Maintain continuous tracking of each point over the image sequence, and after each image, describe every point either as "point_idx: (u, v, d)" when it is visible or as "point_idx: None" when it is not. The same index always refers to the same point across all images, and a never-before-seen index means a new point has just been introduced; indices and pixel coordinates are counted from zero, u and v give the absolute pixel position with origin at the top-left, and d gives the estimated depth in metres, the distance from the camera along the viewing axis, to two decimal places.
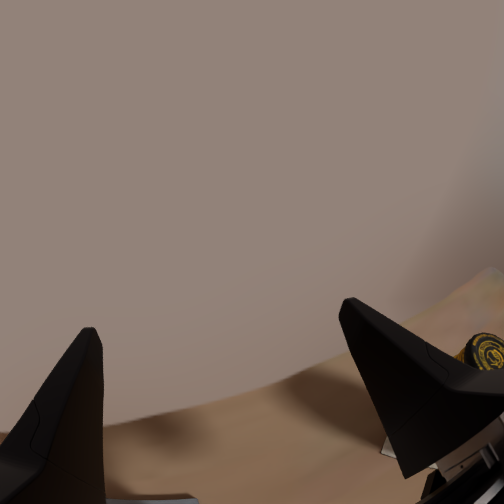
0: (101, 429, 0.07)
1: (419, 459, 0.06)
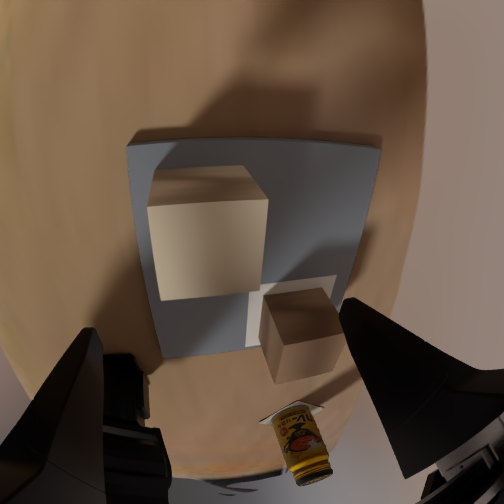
0: (101, 429, 0.07)
1: (419, 459, 0.06)
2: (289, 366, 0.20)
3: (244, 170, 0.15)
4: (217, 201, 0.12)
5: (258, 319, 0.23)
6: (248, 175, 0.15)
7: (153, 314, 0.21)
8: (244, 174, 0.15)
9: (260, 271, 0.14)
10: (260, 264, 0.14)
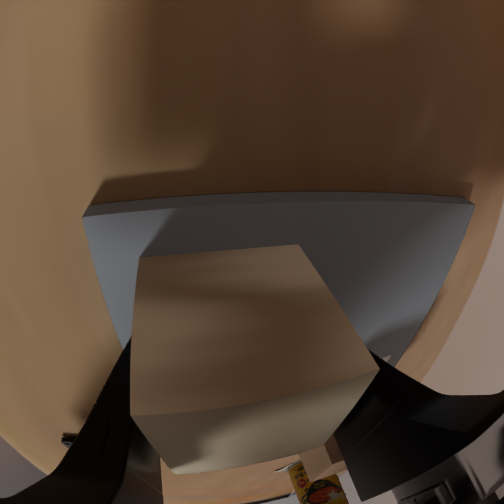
0: None
1: (372, 484, 0.06)
2: (331, 470, 0.13)
3: (306, 263, 0.09)
4: (285, 394, 0.05)
5: None
6: (317, 280, 0.08)
7: None
8: (310, 276, 0.08)
9: (330, 434, 0.07)
10: (333, 430, 0.07)
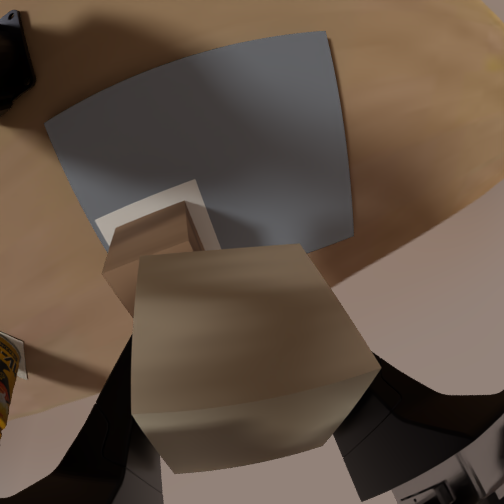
0: None
1: (373, 484, 0.06)
2: None
3: (307, 262, 0.09)
4: (286, 393, 0.05)
5: (145, 212, 0.18)
6: (319, 279, 0.08)
7: (125, 82, 0.13)
8: (311, 275, 0.08)
9: (331, 434, 0.07)
10: (334, 429, 0.07)
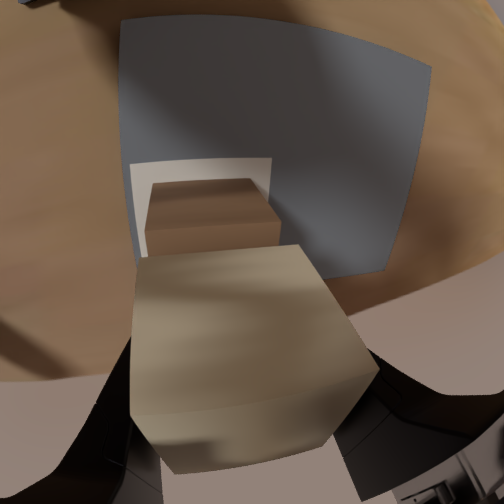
0: None
1: (373, 484, 0.06)
2: (210, 245, 0.11)
3: (306, 263, 0.09)
4: (285, 394, 0.05)
5: (199, 176, 0.14)
6: (318, 280, 0.08)
7: (243, 18, 0.10)
8: (310, 277, 0.08)
9: (330, 434, 0.07)
10: (333, 430, 0.07)
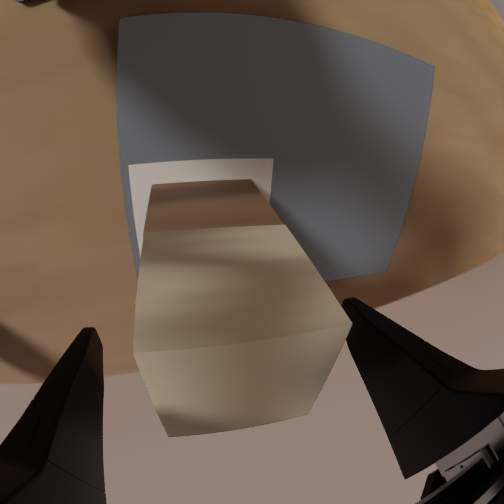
0: (101, 429, 0.07)
1: (419, 459, 0.06)
2: None
3: (291, 239, 0.10)
4: (266, 338, 0.06)
5: (199, 178, 0.14)
6: (300, 252, 0.09)
7: (244, 16, 0.10)
8: (294, 249, 0.09)
9: (314, 399, 0.09)
10: (316, 393, 0.08)
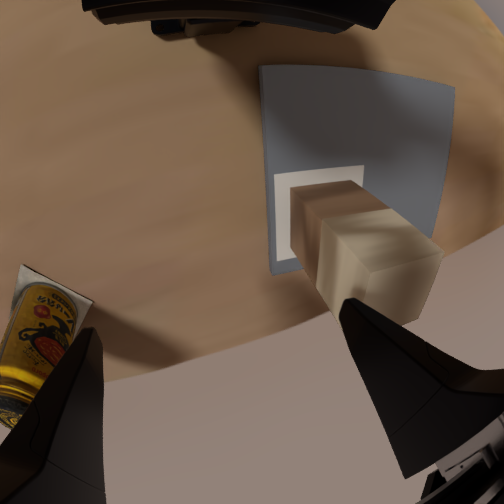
0: (101, 429, 0.07)
1: (419, 459, 0.06)
2: None
3: (399, 216, 0.16)
4: (416, 259, 0.12)
5: (320, 181, 0.20)
6: (408, 222, 0.15)
7: (343, 68, 0.16)
8: (404, 221, 0.15)
9: (423, 304, 0.15)
10: (425, 299, 0.14)
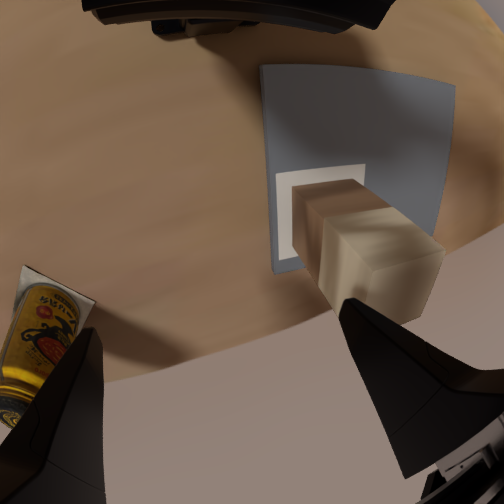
0: (101, 429, 0.07)
1: (419, 459, 0.06)
2: None
3: (401, 215, 0.16)
4: (418, 257, 0.12)
5: (322, 180, 0.20)
6: (409, 221, 0.15)
7: (344, 67, 0.16)
8: (405, 220, 0.15)
9: (425, 302, 0.15)
10: (427, 297, 0.14)
